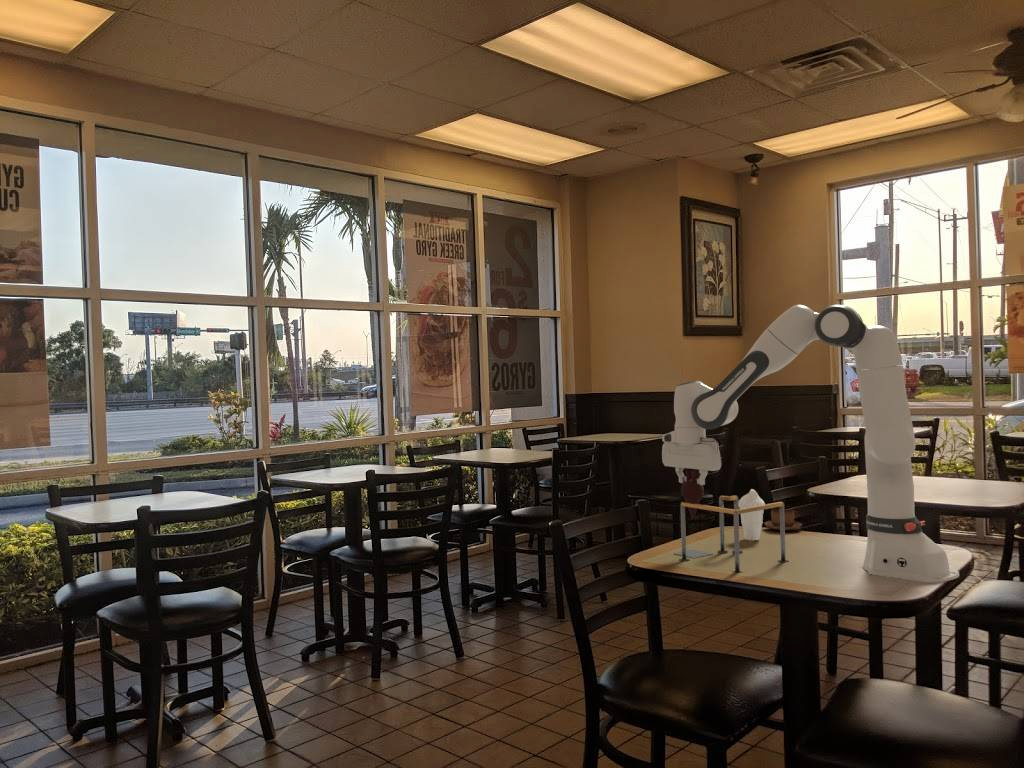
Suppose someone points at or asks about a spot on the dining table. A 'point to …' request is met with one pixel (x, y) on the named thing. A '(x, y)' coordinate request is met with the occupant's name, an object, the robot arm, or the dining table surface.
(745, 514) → the soft serve ice cream cone
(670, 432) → the robot arm
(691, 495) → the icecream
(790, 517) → the cup and saucer
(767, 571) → the dining table surface
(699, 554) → the mat
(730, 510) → the wire frame
